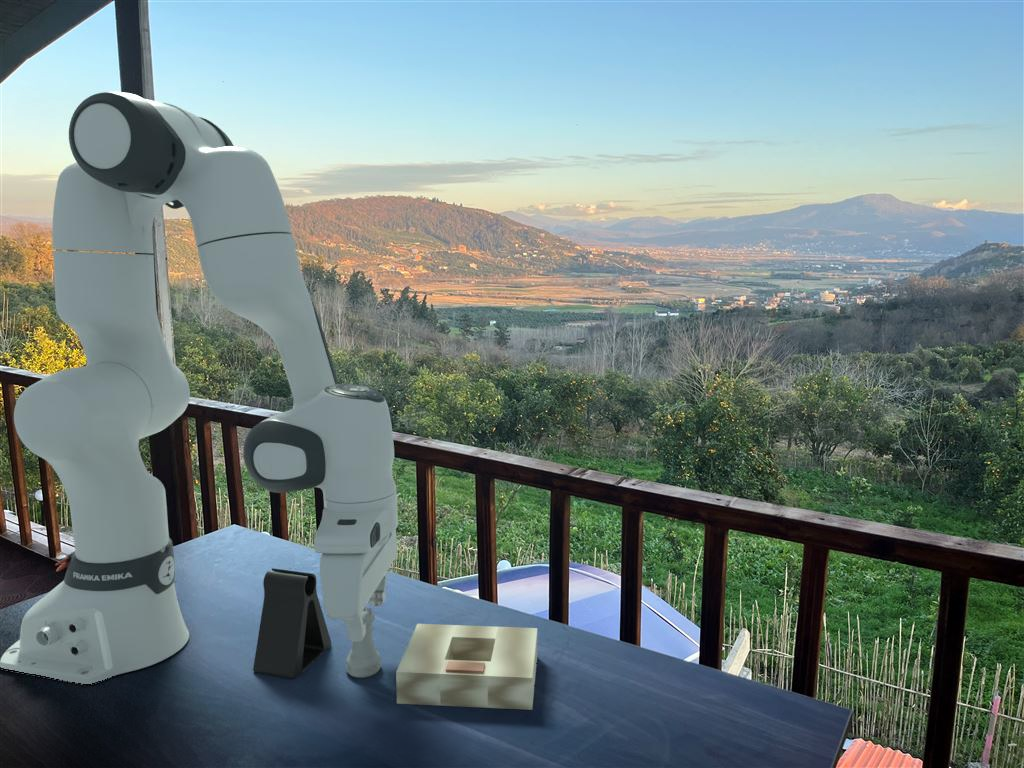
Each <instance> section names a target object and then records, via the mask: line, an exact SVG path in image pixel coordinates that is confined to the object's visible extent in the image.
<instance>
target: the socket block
mask: <svg viewBox="0 0 1024 768" xmlns="http://www.w3.org/2000/svg"><path fill="white" fill-rule="evenodd" d="M537 661H538V628H537V627H536V628H535V627H516V626H515V627H514V626H512V627H511V626H488V625H487V626H485V625H461V624H456V625H455V624H437V623H436V624H435V623H434V624H433V623H417V624H416V626H415V629H414V631H413V633H412V635H411V637H410V639H409V642H408V644H407V647H406V649H405V651H404V652H403V655H402V657H401V659H400V662H399V665H398V666H397V669H396V673H395V679H396V680H395V681H396V704H398V705H400V704H401V705H419V706H420V705H421V706H441V707H442V706H443V707H445V706H446V707H464V708H465V707H466V708H482V709H483V708H484V709H485V708H486V709H489V708H490V709H505V710H506V709H509V710H510V709H511V710H529V711H533V706H534V695H535V686H534V685H536V684H535V683H536V673H537V664H536V663H538V662H537Z"/></svg>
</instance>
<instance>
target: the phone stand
mask: <svg viewBox="0 0 1024 768" xmlns="http://www.w3.org/2000/svg"><path fill="white" fill-rule="evenodd" d="M262 583H263V585H262V586H263V593H264V595H263V596H264V597H263V603H262V609H261V617H260V622H259V627H258V628H259V629H258V637H257V643H256V647H255V648H256V649H255V655H254V662H253V666H252V667H253V669H252V671H253V672H254V673H260V674H265V675H271V676H275V677H276V676H277V677H282V678H287V679H291V680H296V679H297V678H298V677H299V676H300V675H302V673H303V672H305V670H306V671H307V669H308V668H309V667H310V666H311V665H312V664H313V663H314V662H315V661H317V659H319V658H320V657H321V656H322V655H323V654H324V653H325V652H327V650H329V649H330V648H331V647H332V641H331V637H330V632H329V630H328V627H327V624H326V620H325V616H324V613H323V609H322V607H321V604H320V600H319V597H318V593H317V576H316V575H315V574H314V573H309V572H302V571H297V570H295V571H294V570H289V569H280V568H273V567H272V568H271V570H267V571H266V573H265V575H264V578H263V581H262Z"/></svg>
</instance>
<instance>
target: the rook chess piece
mask: <svg viewBox="0 0 1024 768" xmlns="http://www.w3.org/2000/svg"><path fill="white" fill-rule="evenodd" d="M366 608H367V609H366ZM375 618H376V616H375V614H374V613H373V610H372V608H371V607H367V606H365V608H364V609H363V614H362V619H363V622H365V625H366V629H365V630H366V634H365V636H364V638H363V640H362V641H360V642H352V643H351V649H350V651H349V654H348V655H347V658H346V661H345V663H346V666H345V670H346V673H348V674H349V675H350V677H351V676H352V677H353V678H357V679H365V678H369V677H372V676H374V675H376V674H377V673H378V672H379V670H380V669H381V667H382V663H381V656H380V653H379V652H378V650H377V648H376V647H375V643H374V638H373V631H374V626H373V624H372V623H373V622H374V620H375Z"/></svg>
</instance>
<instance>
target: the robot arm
mask: <svg viewBox="0 0 1024 768" xmlns="http://www.w3.org/2000/svg"><path fill="white" fill-rule="evenodd" d="M68 142H69V147H70V150H71V151H70V152H71V154H72V155H73V158H74V160H75V162H74V163H72V164H69V165H68V166H66V167H65V168H64V169H63V170H62V171H61V172H60V174H59V176H58V179H57V184H56V189H55V196H54V202H53V213H52V229H51V231H52V232H51V234H52V235H51V236H52V256H53V257H52V258H53V259H52V260H53V263H52V264H53V275H54V276H53V278H54V280H53V281H54V282H53V283H54V295H55V298H54V299H55V310H56V312H57V315H58V317H59V318H60V319H61V321H63V323H65V324H66V325H67V326H69V328H71V329H72V330H73V331H74V332H75V334H76V335H77V338H78V339H79V342H80V344H81V346H82V348H83V349H82V350H83V352H84V354H85V359H86V365H84V366H83V365H82V366H78V367H77V366H76V367H73V368H72V367H71V368H67V369H62V370H59V371H57V372H54V373H52V374H50V375H48V376H46V377H44V378H42V379H40V380H38V381H36V382H35V383H33V384H31V385H29V386H28V387H27V388H25V389H24V391H22V392H21V393H20V395H19V397H18V398H17V400H16V403H15V406H14V409H13V411H14V412H13V423H14V427H15V431H16V433H17V435H18V438H19V439H20V441H21V442H22V443H23V445H24V447H26V448H27V449H28V450H29V451H30V452H31V453H33V454H34V455H36V456H37V457H39V458H42V459H43V460H45V461H46V462H47V463H48V464H49V465H50V466H51V467H52V468H53V471H55V473H56V474H57V477H58V478H59V480H60V482H61V484H62V487H63V488H64V489H63V490H64V491H65V494H66V498H67V501H68V505H69V506H68V507H69V513H70V519H71V520H70V521H71V527H72V535H73V544H74V551H73V552H71V553H69V554H68V555H66V557H65V558H63V559H62V560H60V561H59V562H57V563H55V566H59V567H57V569H56V570H55V571H56V572H60V571H62V570H63V569H65V568H67V569H66V572H65V576H64V579H63V580H62V581H61V582H60V583H59V584H58V585H56V586H55V587H54V588H52V589H51V590H50V591H49V592H48V593H46V594H45V595H44V596H43V597H42V598H40V599H39V600H38V601H37V602H35V603H34V604H33V605H32V606H31V607H30V608H29V609H28V610H27V612H25V615H24V616H23V618H22V621H21V626H20V633H19V639H18V640H17V641H16V642H14V643H13V644H12V645H11V646H10V647H8V649H6V650H5V652H4V653H3V654H2V656H1V657H0V667H1V668H4V669H9V670H15V671H19V672H24V673H29V674H36V675H41V676H46V677H50V678H49V679H51V678H54V679H53V680H56V679H59V680H58V681H62V680H63V682H67V681H68V683H72V682H75V683H74V684H78V683H81V684H80V685H83V684H91V685H93V684H92V683H95V682H98V681H101V682H103V681H105V679H106V680H108V679H110V678H112V676H113V677H115V676H117V675H122V674H126V673H129V672H133V671H137V670H140V669H144V668H148V667H150V666H153V665H155V664H157V663H160V662H162V661H164V660H167V659H168V658H169V657H171V656H174V655H175V654H176V653H177V652H179V651H180V650H182V648H184V647H185V645H186V644H187V643H188V642H189V639H190V632H189V630H188V629H189V628H188V627H187V626H186V623H185V620H184V617H183V615H182V614H183V613H182V612H181V608H180V604H179V601H178V597H177V591H176V587H175V577H176V576H175V575H176V573H175V572H176V571H175V570H176V565H175V563H176V562H175V553H174V552H175V550H174V544H173V540H172V538H170V533H169V522H168V520H169V519H168V505H167V496H166V488H165V486H164V484H163V483H162V481H161V480H160V479H159V478H157V477H156V476H153V475H152V474H150V473H149V471H148V470H147V467H146V466H145V462H144V461H143V458H142V455H141V453H140V451H141V450H140V448H139V447H140V446H139V443H140V440H142V439H144V438H147V437H150V436H153V435H155V434H157V433H159V432H161V431H163V430H165V429H166V428H168V427H169V426H171V425H172V424H174V422H176V420H177V419H178V418H179V417H181V416H182V415H183V414H184V412H185V411H186V409H187V408H188V405H189V402H190V398H191V397H190V396H191V390H190V389H191V388H190V384H189V382H188V379H187V377H186V375H185V373H184V372H183V371H182V370H181V369H180V367H178V366H177V365H176V364H175V363H174V362H173V360H172V358H171V356H170V353H169V351H168V348H167V345H166V342H165V339H164V336H163V333H162V329H161V327H160V326H161V325H160V321H159V317H158V310H157V297H156V296H157V295H156V294H157V293H156V279H155V278H156V276H155V257H154V256H155V255H154V254H155V253H154V252H155V251H154V239H153V229H154V228H153V224H154V219H155V217H156V214H157V212H158V211H159V209H161V207H163V206H164V205H165V206H166V207H168V208H169V209H172V210H173V209H174V210H177V209H181V208H183V207H184V208H185V211H186V212H187V213H188V216H189V219H190V223H191V224H192V225H191V226H192V230H193V234H194V240H195V244H196V248H197V254H198V259H199V263H200V266H201V269H202V270H201V271H202V274H203V277H204V280H205V282H206V284H207V286H208V289H209V290H210V293H211V294H212V297H213V298H214V300H215V301H216V302H218V303H219V305H221V306H222V307H223V308H225V309H226V310H228V311H229V312H231V313H232V314H234V315H236V316H239V317H241V318H244V319H245V320H248V321H249V322H251V323H253V324H254V325H257V326H258V327H259V328H260V329H262V330H263V331H264V332H265V333H267V335H268V336H270V338H271V339H272V341H273V343H274V344H275V345H276V348H277V351H278V353H279V356H280V359H281V362H282V365H283V369H284V371H285V375H286V378H287V381H288V385H289V387H290V391H291V394H292V399H293V404H292V408H291V409H289V410H286V411H282V412H280V413H278V414H275V415H272V416H270V417H268V418H266V419H264V420H262V421H260V422H259V423H256V425H254V426H253V427H252V428H251V429H250V431H249V432H248V434H247V435H246V437H245V439H244V442H243V443H244V444H243V452H242V453H243V460H244V461H243V462H244V465H245V468H246V471H247V472H248V474H249V476H250V477H251V478H252V480H253V481H254V482H255V483H256V484H258V486H260V487H261V488H263V489H264V490H266V491H268V492H271V493H275V494H282V493H283V494H285V493H292V492H297V491H305V490H308V489H312V488H319V489H320V490H321V491H322V494H323V509H322V516H321V520H320V524H319V526H318V528H317V530H316V532H315V535H314V538H313V547H314V552H315V553H316V554H321V555H320V561H319V576H320V586H321V593H322V601H323V607H324V611H325V614H326V616H327V617H328V619H330V620H332V621H334V620H335V621H343V622H344V624H345V626H346V628H347V639H348V640H349V642H360V641H362V640H363V638H364V636H365V634H366V630H365V629H366V625H365V622H363V619H362V614H363V609H364V608H365V607H367V605H368V602H369V605H370V606H372V607H381V606H382V605H383V604H384V603H385V601H386V599H387V598H386V586H387V579H388V570H389V569H390V567H391V565H392V564H393V562H394V561H395V559H396V557H397V553H398V540H397V539H398V538H397V530H396V529H397V528H398V526H399V516H398V497H397V485H396V482H395V480H394V475H393V464H394V459H395V445H394V433H393V427H392V420H391V414H390V409H389V405H388V403H387V401H386V398H385V396H384V395H383V394H382V393H381V392H380V391H377V390H375V389H374V388H372V387H368V386H364V385H361V384H354V383H353V384H351V383H349V384H345V383H341V384H340V382H339V380H338V377H337V373H336V370H335V367H334V364H333V360H332V356H331V354H330V350H329V346H328V343H327V340H326V336H325V333H324V329H323V326H322V322H321V321H320V317H319V315H318V311H317V308H316V306H315V305H314V301H313V299H312V297H311V294H310V292H309V290H308V287H307V285H306V282H305V279H304V275H303V273H302V268H301V266H300V262H299V258H298V253H297V249H296V246H295V242H294V237H293V232H292V228H291V223H290V218H289V216H288V212H287V209H286V205H285V203H284V199H283V196H282V194H281V191H280V188H279V186H278V181H276V178H275V175H274V173H273V171H272V169H271V166H270V165H269V162H267V160H266V158H264V157H263V156H262V155H261V154H259V153H258V152H256V151H254V150H252V149H249V148H245V147H241V146H234V144H233V142H232V140H231V139H230V137H229V136H228V135H227V133H226V132H224V131H223V130H222V129H221V128H220V127H218V125H216V124H215V123H214V122H212V121H211V120H208V119H206V118H204V117H201V116H197V115H195V114H194V113H192V112H190V111H188V110H185V109H183V108H181V107H179V106H177V105H174V104H171V103H166V102H160V101H156V100H152V99H146V98H143V97H141V96H139V95H137V94H135V93H134V94H133V93H130V92H122V91H105V92H98V93H94V94H93V95H90V96H87V97H86V98H85V99H84V100H82V101H81V102H80V104H79V105H78V106H77V107H76V108H75V110H74V112H73V114H72V116H71V119H70V122H69V128H68ZM19 672H18V673H19ZM24 673H23V674H24ZM29 674H28V675H29ZM107 678H108V679H107ZM102 680H103V681H102ZM98 683H99V682H98ZM95 684H96V683H95Z"/></svg>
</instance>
